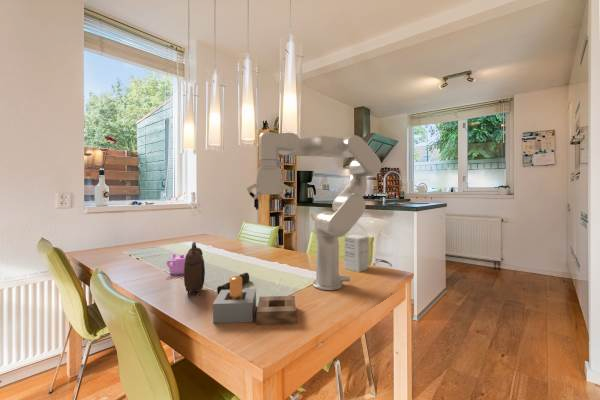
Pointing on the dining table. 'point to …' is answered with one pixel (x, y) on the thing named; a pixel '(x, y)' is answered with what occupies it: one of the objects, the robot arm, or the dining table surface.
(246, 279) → the hand tool
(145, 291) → the dining table surface
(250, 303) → the socket block
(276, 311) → the mount block
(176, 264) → the teapot
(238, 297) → the pin
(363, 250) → the supplement box
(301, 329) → the dining table surface
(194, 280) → the alarm clock
